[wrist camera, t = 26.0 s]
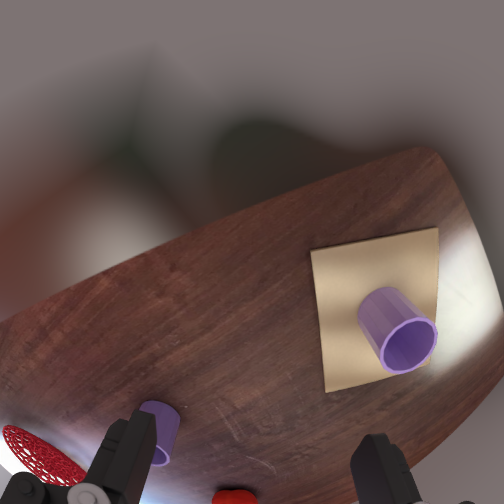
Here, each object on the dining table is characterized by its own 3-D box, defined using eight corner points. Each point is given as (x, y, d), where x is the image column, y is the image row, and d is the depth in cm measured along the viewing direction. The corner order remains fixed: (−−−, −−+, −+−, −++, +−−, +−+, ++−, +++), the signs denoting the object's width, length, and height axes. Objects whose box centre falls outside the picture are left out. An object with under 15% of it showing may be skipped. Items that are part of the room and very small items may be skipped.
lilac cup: (133, 400, 38) (115, 436, 30) (172, 400, 38) (158, 440, 30) (149, 428, 40) (135, 464, 32) (186, 428, 39) (176, 467, 32)
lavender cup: (355, 293, 32) (380, 327, 24) (406, 281, 32) (440, 310, 24) (357, 341, 34) (378, 380, 26) (405, 328, 33) (433, 363, 26)
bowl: (66, 485, 51) (61, 497, 47) (-4, 415, 45) (-13, 425, 40) (135, 492, 48) (130, 508, 43) (47, 410, 41) (36, 425, 36)
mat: (309, 250, 31) (310, 251, 31) (435, 226, 30) (438, 227, 30) (324, 390, 37) (325, 392, 36) (428, 361, 35) (429, 363, 35)
